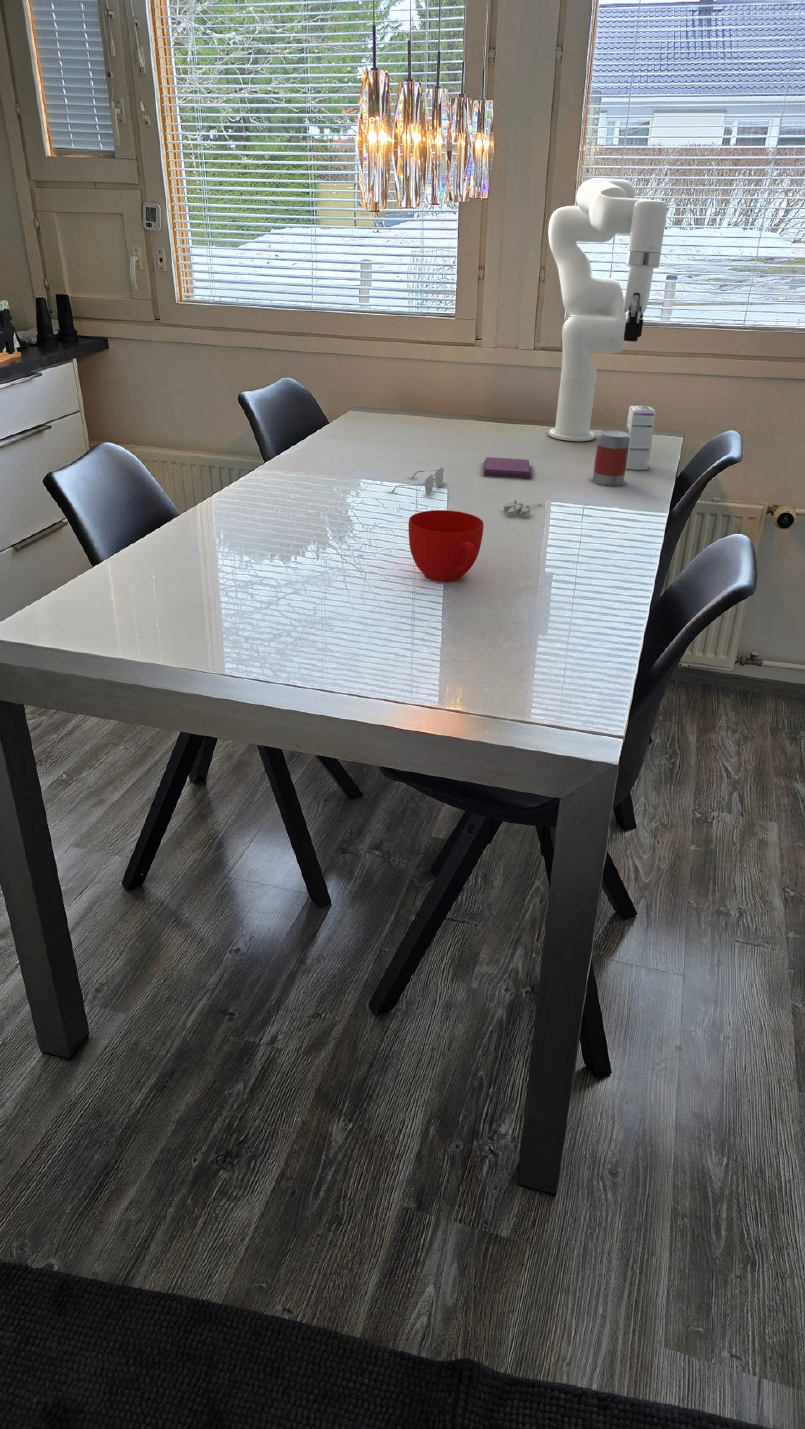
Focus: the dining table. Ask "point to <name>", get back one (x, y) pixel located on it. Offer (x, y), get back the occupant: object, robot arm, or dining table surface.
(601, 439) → the tin can
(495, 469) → the purple square slab
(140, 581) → the dining table surface
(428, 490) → the eyeglasses
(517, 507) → the game controller
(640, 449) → the syrup box
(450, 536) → the ceramic cup
